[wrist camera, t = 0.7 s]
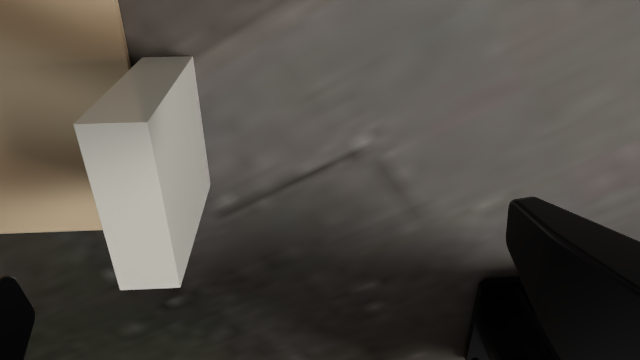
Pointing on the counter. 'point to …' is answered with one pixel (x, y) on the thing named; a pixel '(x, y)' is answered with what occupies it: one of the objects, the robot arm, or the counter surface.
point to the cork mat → (52, 107)
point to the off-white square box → (148, 170)
